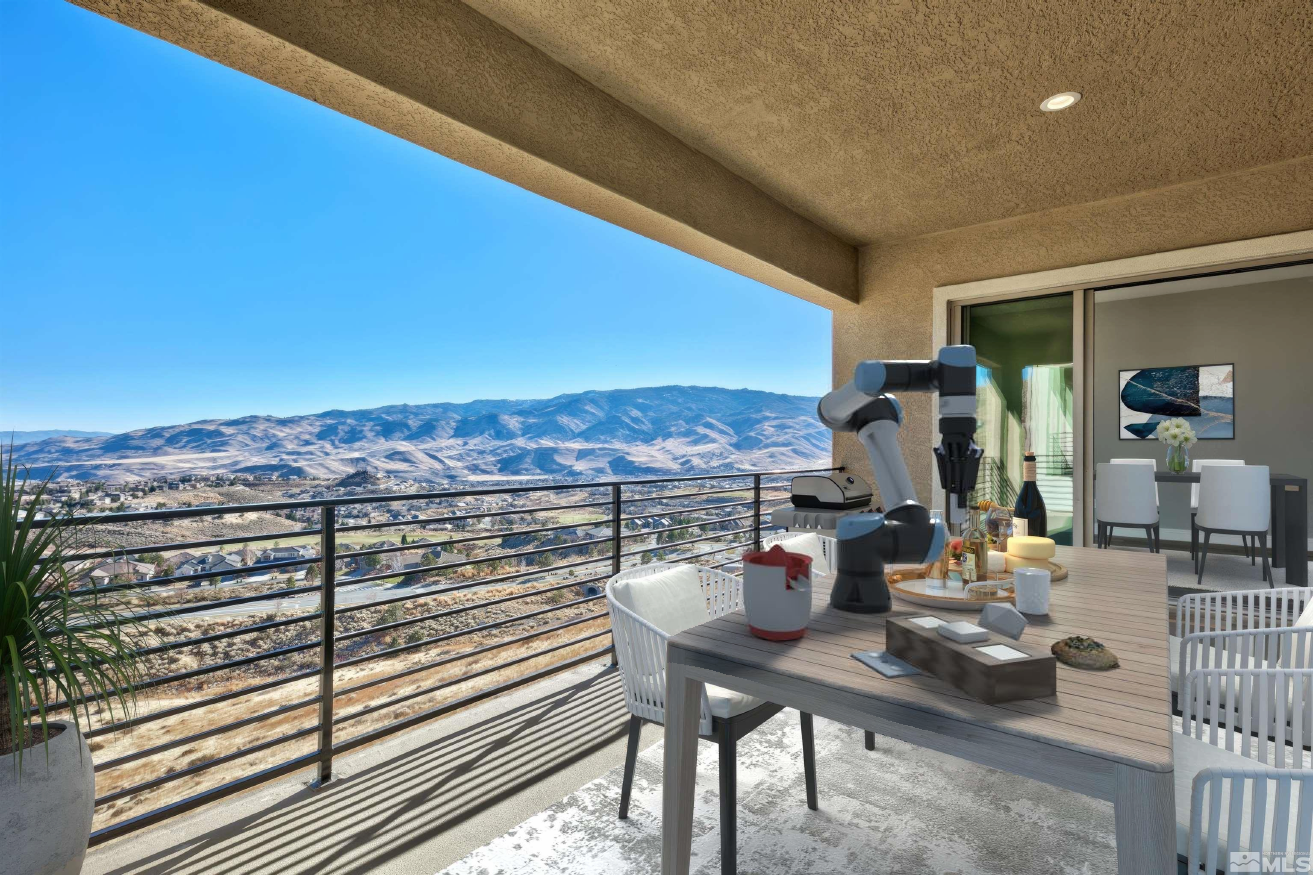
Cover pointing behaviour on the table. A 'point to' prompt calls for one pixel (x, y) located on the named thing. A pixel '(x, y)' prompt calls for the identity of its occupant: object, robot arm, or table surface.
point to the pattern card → (885, 663)
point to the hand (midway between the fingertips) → (957, 522)
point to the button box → (973, 661)
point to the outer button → (1002, 652)
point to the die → (1003, 620)
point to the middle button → (963, 632)
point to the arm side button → (927, 621)
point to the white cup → (1032, 590)
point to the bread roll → (1083, 653)
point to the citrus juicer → (777, 593)
